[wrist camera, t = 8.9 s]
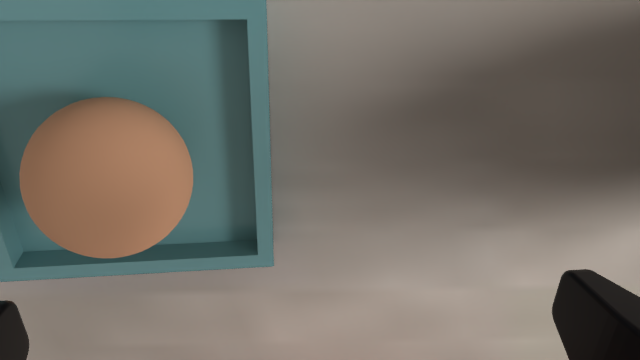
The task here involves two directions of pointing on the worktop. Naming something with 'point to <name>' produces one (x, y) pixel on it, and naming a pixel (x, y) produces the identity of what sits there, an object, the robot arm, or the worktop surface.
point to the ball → (106, 177)
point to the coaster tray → (158, 94)
